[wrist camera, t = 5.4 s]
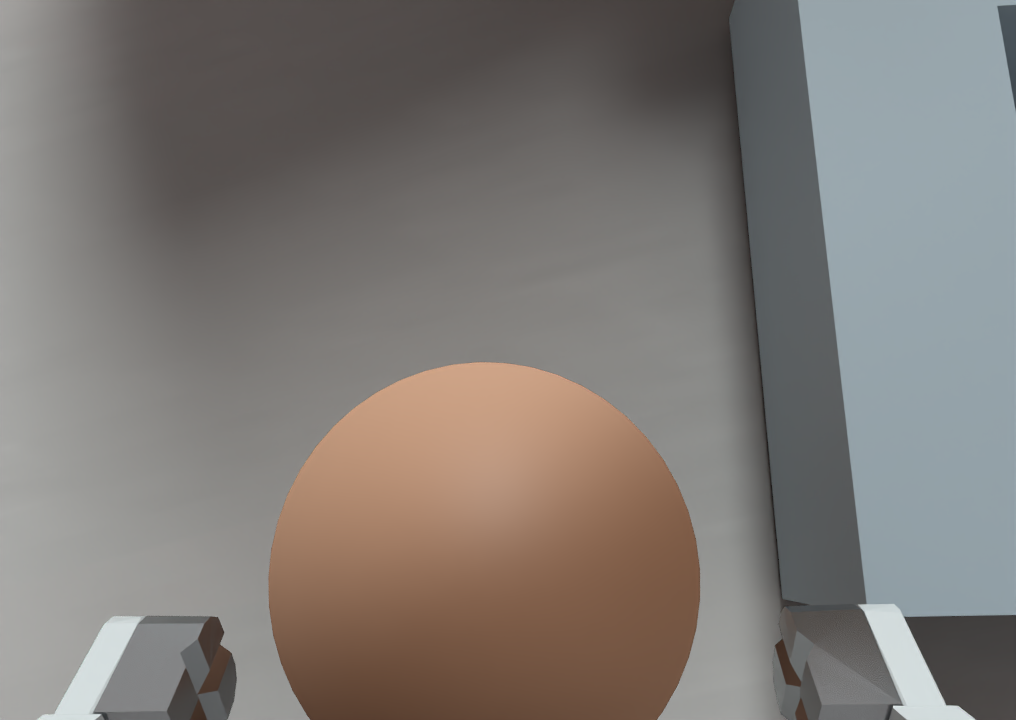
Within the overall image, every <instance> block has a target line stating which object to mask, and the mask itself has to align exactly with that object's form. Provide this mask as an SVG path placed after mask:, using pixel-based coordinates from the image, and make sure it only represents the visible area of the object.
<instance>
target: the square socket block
mask: <svg viewBox="0 0 1016 720" xmlns="http://www.w3.org/2000/svg"><path fill="white" fill-rule="evenodd" d="M729 23H730V34H731V45H732V56H733V67H734V78H735V89H736V99H737V110H738V121H739V132H740V143H741V154H742V165H743V175H744V186H745V197H746V208H747V219H748V230H749V241H750V251H751V262H752V273H753V284H754V295H755V306H756V317H757V327H758V338H759V349H760V360H761V371H762V382H763V393H764V403H765V414H766V425H767V436H768V447H769V458H770V469H771V479H772V490H773V501H774V512H775V523H776V534H777V545H778V555H779V566H780V577H781V588H782V599H786V600H790V601H795V602H800V603H804V604H809V605H838V604H854V605H861V604H895V605H896V606H897V607H898V608H899V609H900V610H901V612H902V614H903V616H904V617H922V616H980V615H1016V0H735V2H734V5H733V8H732V11H731V14H730V17H729Z"/></svg>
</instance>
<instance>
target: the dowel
mask: <svg viewBox="0 0 1016 720" xmlns="http://www.w3.org/2000/svg"><path fill="white" fill-rule="evenodd" d="M699 602H700V567H699V559H698V552H697V545H696V538H695V535H694V531H693V527H692V523H691V520H690V516H689V512H688V509H687V507H686V505H685V502H684V500H683V497H682V495H681V492H680V490H679V487H678V485H677V483H676V481H675V480H674V478H673V476H672V474H671V473H670V471H669V469H668V467H667V465H666V464H665V462H664V460H663V459H662V457H661V456H660V455H659V453H658V452H657V451H656V449H655V448H654V447H653V445H652V444H651V443H650V441H649V440H648V439H647V437H646V436H645V435H644V434H643V433H642V432H641V431H640V430H639V429H638V428H637V427H636V426H635V425H634V424H633V423H632V422H631V421H630V420H629V419H628V418H627V417H626V416H625V415H624V414H622V413H621V412H620V411H619V410H617V409H616V408H615V407H614V406H612V405H611V404H610V403H609V402H607V401H606V400H605V399H603V398H601V397H600V396H598V395H596V394H595V393H593V392H591V391H590V390H588V389H586V388H585V387H583V386H581V385H579V384H577V383H575V382H572V381H570V380H568V379H566V378H563V377H561V376H559V375H556V374H553V373H549V372H546V371H543V370H539V369H536V368H532V367H527V366H521V365H514V364H508V363H489V362H475V363H465V364H455V365H449V366H444V367H440V368H436V369H431V370H427V371H424V372H421V373H418V374H416V375H413V376H410V377H407V378H405V379H402V380H400V381H398V382H396V383H394V384H392V385H390V386H388V387H386V388H384V389H382V390H380V391H378V392H377V393H375V394H374V395H372V396H371V397H369V398H368V399H366V400H365V401H364V402H362V403H361V404H359V405H358V406H356V407H355V408H354V409H353V410H351V411H350V412H349V413H348V414H347V415H346V416H345V417H344V418H342V419H341V420H340V421H339V422H338V423H337V424H336V425H335V426H334V427H333V428H332V429H331V430H330V431H329V432H328V433H327V435H326V436H325V437H324V438H323V439H322V440H321V441H320V443H319V444H318V445H317V446H316V447H315V449H314V450H313V452H312V453H311V455H310V456H309V458H308V459H307V461H306V462H305V464H304V465H303V467H302V468H301V469H300V471H299V473H298V475H297V477H296V479H295V481H294V483H293V485H292V487H291V489H290V491H289V493H288V495H287V498H286V500H285V503H284V506H283V509H282V511H281V514H280V517H279V520H278V523H277V527H276V532H275V536H274V540H273V545H272V549H271V559H270V568H269V609H270V616H271V623H272V630H273V636H274V639H275V643H276V647H277V650H278V654H279V657H280V661H281V664H282V666H283V669H284V671H285V674H286V676H287V678H288V681H289V683H290V685H291V688H292V690H293V692H294V694H295V695H296V697H297V699H298V700H299V702H300V704H301V706H302V707H303V709H304V711H305V712H306V714H307V716H308V717H309V718H310V720H657V719H658V717H659V716H660V715H661V713H662V712H663V710H664V708H665V707H666V705H667V703H668V701H669V700H670V698H671V696H672V694H673V693H674V691H675V689H676V687H677V685H678V683H679V681H680V678H681V676H682V673H683V671H684V668H685V666H686V663H687V661H688V658H689V655H690V651H691V647H692V643H693V639H694V635H695V631H696V627H697V618H698V610H699Z"/></svg>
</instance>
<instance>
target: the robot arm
mask: <svg viewBox="0 0 1016 720" xmlns="http://www.w3.org/2000/svg"><path fill="white" fill-rule="evenodd" d="M779 627H780V631H781V634H782V637H783V639H782V640H781V641H780V642H778V643H777V644H776V645H775V648H774V656H773V680H774V686H775V692H776V697H777V701H778V705H779V708H780V712H781V714H782V715H783V716H784V717H785V718H786V719H787V720H976V719H974V718H973V717H972V716H971V715H969V714H968V713H967V712H965V711H964V710H963V709H962V708H960V707H959V706H952V705H946V703H945V701H944V699H943V697H942V695H941V693H940V691H939V688H938V686H937V684H936V682H935V680H934V678H933V676H932V674H931V672H930V670H929V668H928V666H927V664H926V662H925V660H924V658H923V656H922V653H921V651H920V649H919V647H918V645H917V643H916V641H915V639H914V637H913V635H912V633H911V631H910V629H909V627H908V625H907V623H906V620H905V618H904V616H903V614H902V612H901V610H900V609H899V608H898V607H897V606H896V605H895V604H861V605H854V604H838V605H804V606H784V608H783V609H782V611H781V614H780V619H779ZM223 635H224V631H223V628H222V626H221V623H220V621H219V618H218V617H211V616H113V617H112V618H111V619H110V620H108V621H107V622H106V623H105V624H104V625H103V626H102V628H101V630H100V632H99V634H98V635H97V637H96V639H95V641H94V643H93V644H92V646H91V648H90V650H89V652H88V653H87V655H86V657H85V659H84V661H83V662H82V664H81V666H80V668H79V670H78V671H77V673H76V675H75V677H74V678H73V680H72V682H71V684H70V686H69V687H68V689H67V691H66V693H65V695H64V696H63V698H62V700H61V702H60V704H59V705H58V707H57V709H56V711H55V713H54V714H44V715H42V716H41V717H40V718H38V719H37V720H227V719H228V717H229V714H230V711H231V708H232V705H233V702H234V697H235V689H236V681H237V677H236V667H235V662H234V659H233V656H232V653H231V652H230V651H228V650H227V649H225V648H224V647H223V646H221V645H220V642H221V640H222V637H223Z"/></svg>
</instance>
